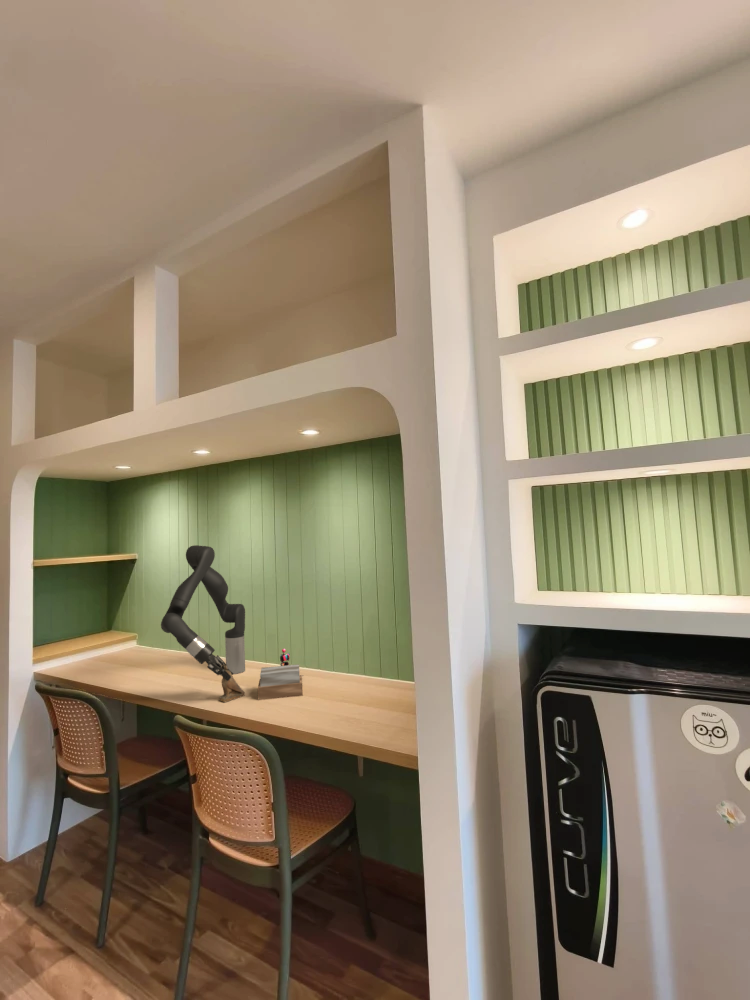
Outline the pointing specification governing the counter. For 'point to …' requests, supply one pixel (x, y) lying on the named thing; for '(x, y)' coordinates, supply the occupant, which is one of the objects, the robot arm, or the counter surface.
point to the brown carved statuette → (230, 688)
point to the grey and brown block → (280, 682)
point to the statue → (284, 658)
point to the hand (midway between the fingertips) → (230, 677)
